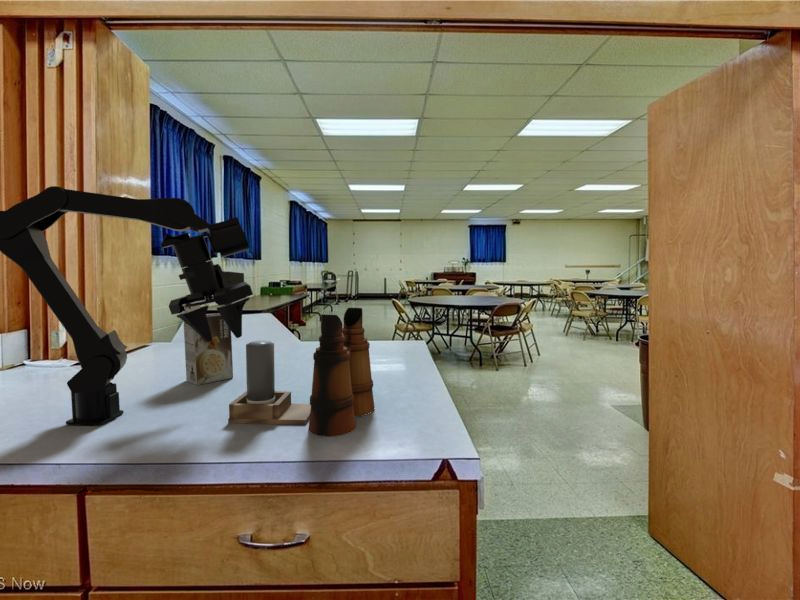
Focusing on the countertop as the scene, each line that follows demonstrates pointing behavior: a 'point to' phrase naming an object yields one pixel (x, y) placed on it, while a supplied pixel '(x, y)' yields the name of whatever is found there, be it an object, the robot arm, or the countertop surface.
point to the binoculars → (340, 376)
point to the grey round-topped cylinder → (260, 372)
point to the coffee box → (208, 352)
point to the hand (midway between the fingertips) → (224, 339)
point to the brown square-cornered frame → (269, 411)
